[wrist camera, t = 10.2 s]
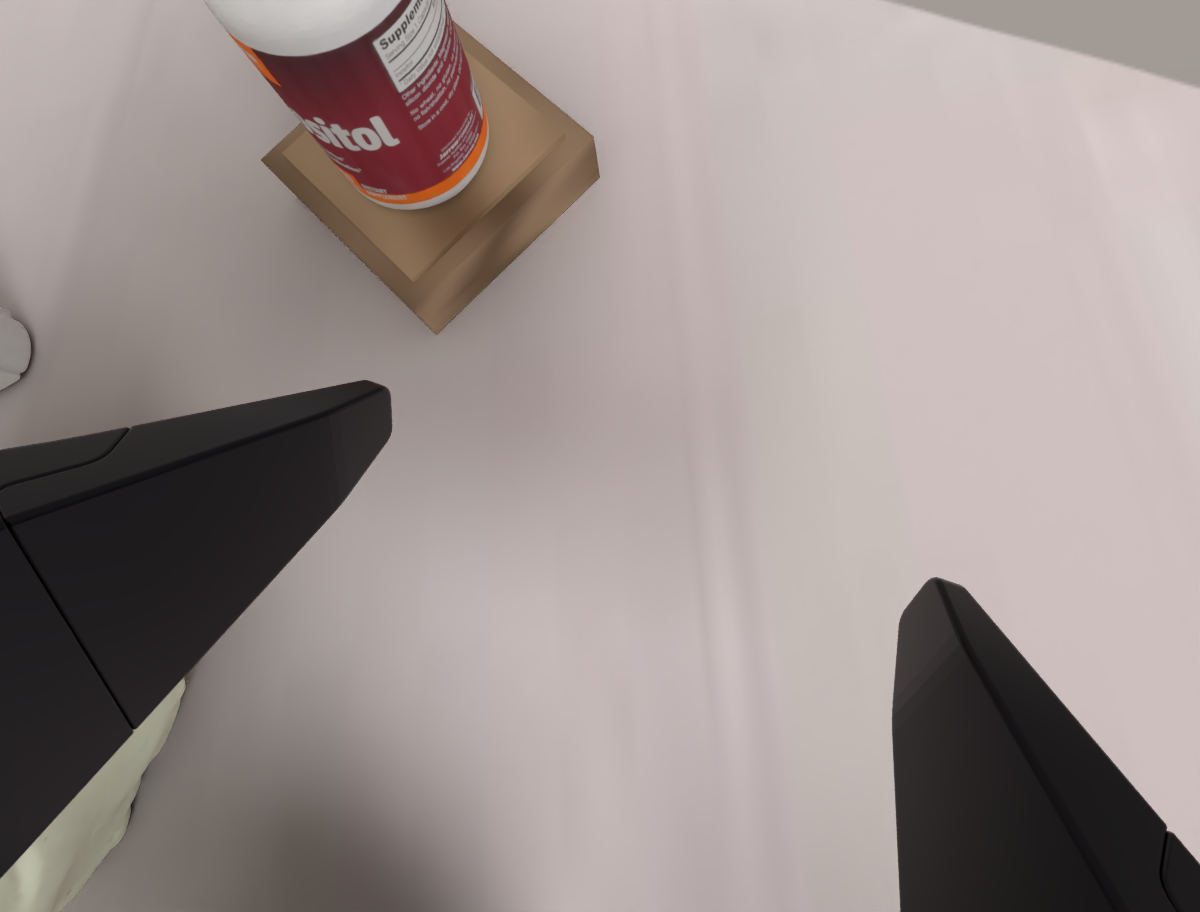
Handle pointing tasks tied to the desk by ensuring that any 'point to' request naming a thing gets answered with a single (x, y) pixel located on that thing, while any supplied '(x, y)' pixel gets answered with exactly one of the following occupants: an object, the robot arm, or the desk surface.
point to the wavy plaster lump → (87, 822)
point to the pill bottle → (372, 89)
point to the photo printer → (12, 349)
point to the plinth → (456, 196)
